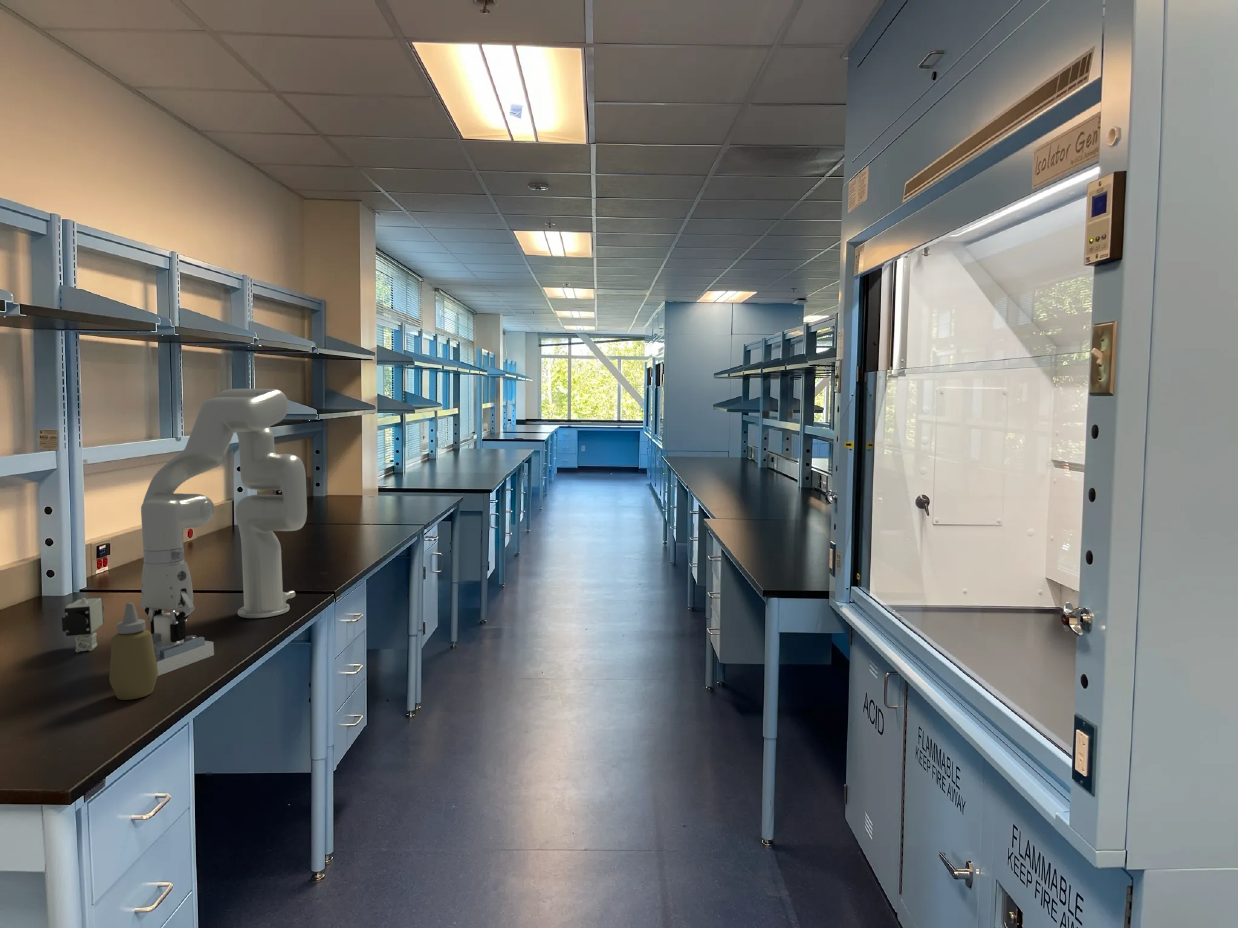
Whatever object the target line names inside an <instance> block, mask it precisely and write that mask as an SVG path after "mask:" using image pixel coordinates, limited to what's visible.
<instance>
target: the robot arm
mask: <svg viewBox="0 0 1238 928" xmlns="http://www.w3.org/2000/svg"><path fill="white" fill-rule="evenodd" d="M288 410H289V401H288V397H287V395H286V394H285V393H284V392H283V391H281V390H279V389H277V388H230V389H225V390H222V391H220V392H219V393H218V394H217V395H216V397H212V398H209V399H206V400H205V401H204V402H203V403H202V405H200V409H199V411H198V414H197V416H196V418H195V421H194V424H193V427H192V429H191V432H190V435H189V437H188V440H187V443H186V445H185V447H184V449H183V451H181V452H180V453H178V454H177V455H175V456H174V457H172V458H171V459H170V460H169V461H168V462H166V464H164V465H163V466H162V467H161V468H160V469H159V470H158V471H157V472H156V473H155V474H154V475H153V477H152V478H151V480H150V482H149V485H148V487H147V490H146V493H145V496H144V498H143V502H142V503H141V506H140V514H141V518H140V519H141V532H142V533H141V535H142V551H143V553H142V554H143V566H142V573H141V599H140V601H139V606H140V607H141V608H142V609H143V610H144V612H145V613H146V615H147V620H148V621H149V622H150V623H149V624H150V625H149V626H150V632H151V634H154V616H156V615H159V614H163V613H165V611H169V612H168V613H170V616H171V620H172V623H173V624H170V634H171V642H177V641H180V640H183V639H185V638H186V636H187V635H186V622H187V621H188V617H190V615H191V613H193V611H195V605H194V592H193V584H192V578H191V577H192V576H191V572H190V568H189V565H188V562H187V561H185V555H186V554H185V545H184V529H193V528H200V527H202V526H205V525H207V524H208V523H209V522H211V520H212V519H213V517H214V514H215V505H214V502H213V500H212V499H210V498H209V497H208V496H207V495H203V494H198V493H176V492H175V491H177V489H178V488H179V487H180V486H181V485H182V484H183V483H185V482H186V481H188V480H190V479H192V478H194V477H196V476H199V475H200V474H203V473H205V472H208V471H211V470H213V469H215V468H218V467H219V466H221V465H222V464H223V463H224V462H225V459H226V455H227V453H228V449H229V448H230V447H229V446H230V443H231V442H232V438H233V436H234V434H236V436H237V439H238V450H239V451H238V453H239V454H238V455H239V468H240V469H239V471H240V480H241V483H242V485H243V486H244V487H245V488H246V489H249V490H255V491H257V490H258V491H259V490H261V491H281V494H252V495H247V496H245V497H243V498H242V499H240V500H239V501H238V502H237V505H236V506H235V518H236V522H237V523H236V524H237V526H238V530H239V534H240V536H239V537H240V542H241V543H240V544H241V564H242V565H241V566H242V567H241V568H242V587H243V588H242V589H243V606H242V607H240V608H239V609H238V610H237V615H238V616H239V617H241V618H245V619H262V618H271V617H275V616H276V617H277V616H279V615H283V614H286V613H287V612H289V610H290V604H289V603H287V600H288V599H289V600H290V599H292V598H294V597H296V592H295V591H294V590H289V591H283V569H282V568H283V566H282V548H281V547H282V546H281V543H280V541H279V538H278V537H277V535H276V533H274V532H294V531H295V532H296V531H298V530H301V529H302V528H303V527H304V525H305V524H306V522H307V516H308V503H307V502H308V500H307V499H308V498H307V495H308V494H307V477H306V467H305V466H304V463H303V461H302V459H301V458H300V457H299V456H297V455H294V454H291V453H276V446H275V436H274V432H273V430H272V428H271V427H272V426H274V425H276V424H278V423H281V422H282V421H283V420H284V419H285V417H286V415H287V414H288V412H289V411H288ZM177 612H178V613H179V614H178V616H177V614H176V613H177Z"/></svg>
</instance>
